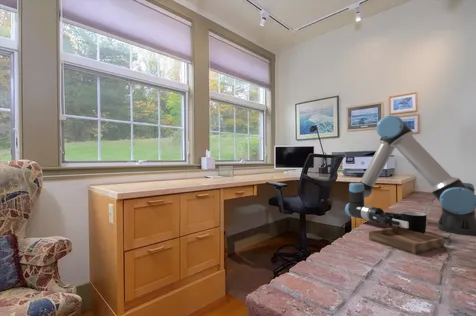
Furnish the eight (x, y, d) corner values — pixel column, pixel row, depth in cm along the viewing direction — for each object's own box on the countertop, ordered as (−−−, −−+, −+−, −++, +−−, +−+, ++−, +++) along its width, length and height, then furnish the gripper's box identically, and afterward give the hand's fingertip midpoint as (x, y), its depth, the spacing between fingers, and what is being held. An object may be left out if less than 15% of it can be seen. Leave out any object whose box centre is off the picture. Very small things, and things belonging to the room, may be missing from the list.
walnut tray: (396, 234, 106) (396, 226, 106) (443, 247, 89) (443, 238, 89) (369, 239, 98) (368, 231, 99) (415, 254, 82) (415, 244, 82)
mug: (428, 235, 104) (427, 213, 104) (425, 240, 97) (424, 216, 98) (396, 230, 112) (396, 209, 113) (392, 234, 106) (391, 212, 106)
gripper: (388, 219, 126) (434, 228, 107) (356, 223, 116) (399, 235, 97) (388, 205, 127) (433, 212, 107) (355, 208, 117) (399, 217, 97)
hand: (417, 223), depth 102 cm, fingers open, 13 cm apart
